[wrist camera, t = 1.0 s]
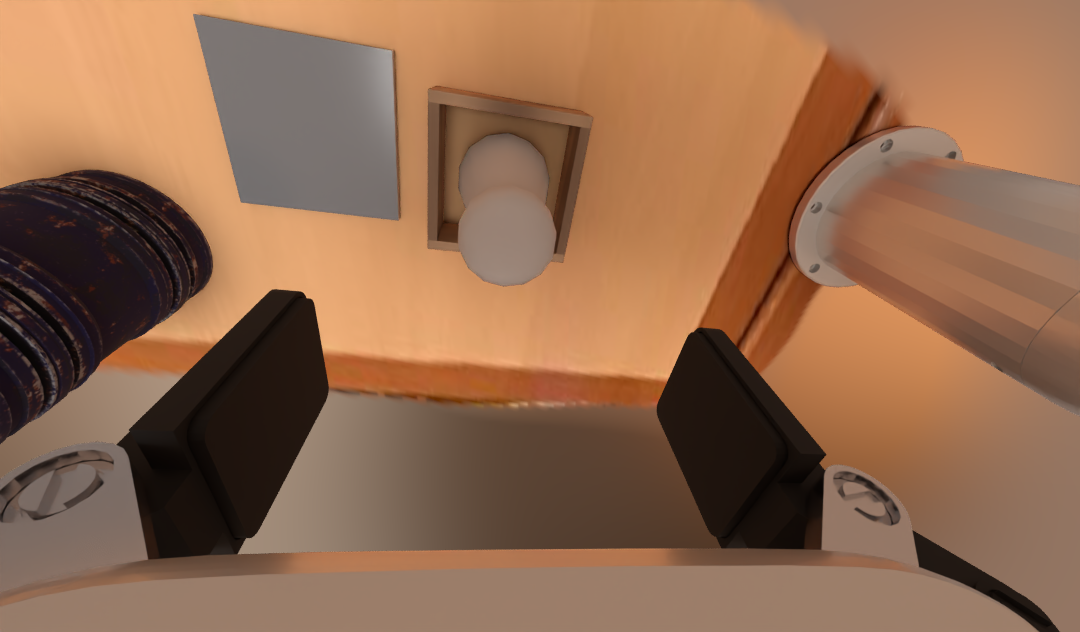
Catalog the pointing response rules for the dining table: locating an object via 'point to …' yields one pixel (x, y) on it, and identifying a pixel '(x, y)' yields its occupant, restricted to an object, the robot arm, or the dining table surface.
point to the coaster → (305, 118)
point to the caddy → (580, 122)
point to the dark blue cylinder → (85, 280)
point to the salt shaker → (505, 211)
